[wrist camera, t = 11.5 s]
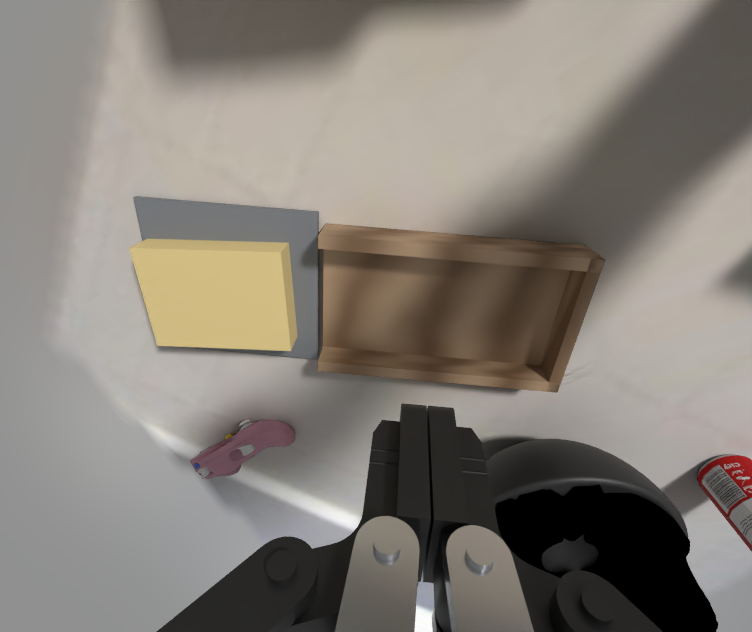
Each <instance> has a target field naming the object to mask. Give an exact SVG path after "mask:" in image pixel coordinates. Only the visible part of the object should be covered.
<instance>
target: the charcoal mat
mask: <svg viewBox="0 0 752 632" xmlns="http://www.w3.org/2000/svg"><path fill="white" fill-rule="evenodd" d="M134 202H135V207H136V211H137V216H138V221H139V226H140V230H141V235H142V240H143V241H144V240H146V239H176V240H210V241H245V242H279V243H289V251H290V261H291V272H292V283H293V294H294V304H295V315H296V326H297V339H296V341H295V343H294V345H293V348H292V350H291V351H277V350H252V349H227V348H202V347H186V348H197V349H209V350H220V351H231V352H242V353H254V354H265V355H276V356H287V357H299V358H310V359H318V266H319V249H318V235H319V212H317V211H305V210H293V209H281V208H269V207H257V206H245V205H233V204H221V203H209V202H197V201H185V200H173V199H161V198H149V197H137V196H136V197H134ZM175 347H177V346H175Z"/></svg>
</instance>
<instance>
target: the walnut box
mask: <svg viewBox="0 0 752 632" xmlns="http://www.w3.org/2000/svg"><path fill="white" fill-rule="evenodd" d="M318 249H324V268H323V347H322V350H321V354H320V357H319V360H318V371H322V372H333V373H344V374H356V375H367V376H378V377H389V378H400V379H412V380H423V381H434V382H445V383H456V384H468V385H479V386H490V387H501V388H512V389H524V390H535V391H546V392H558V389H559V386H560V384H561V381H562V378H563V375H564V373H565V370H566V367H567V364H568V361H569V359H570V356H571V353H572V350H573V348H574V345H575V342H576V339H577V336H578V334H579V331H580V328H581V325H582V323H583V320H584V317H585V314H586V312H587V309H588V306H589V303H590V300H591V298H592V295H593V292H594V289H595V287H596V284H597V281H598V278H599V276H600V273H601V270H602V267H603V264H604V262H605V260H604V259H603V258H602V257H600V256H599V255H598V254H596V253H595V252H594V251H592V250H591V249H590V248H588V247H587V246H586V245H577V244H565V243H553V242H541V241H529V240H517V239H506V238H494V237H482V236H470V235H458V234H446V233H434V232H422V231H410V230H398V229H387V228H375V227H363V226H351V225H339V224H327V223H326V224H325V226H324V227H323V229H322V230H321V232H320V234H319V235H318Z"/></svg>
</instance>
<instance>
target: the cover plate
mask: <svg viewBox="0 0 752 632" xmlns="http://www.w3.org/2000/svg"><path fill="white" fill-rule="evenodd" d="M129 249H130V253H131V256H132V260H133V263H134V267H135V270H136V274H137V277H138V281H139V284H140V287H141V291H142V294H143V298H144V301H145V305H146V308H147V312H148V315H149V319H150V322H151V326H152V329H153V333H154V336H155V339H156V343H157V346H177V347H202V348H227V349H252V350H277V351H291V350H292V348H293V345H294V343H295V341H296V339H297V326H296V315H295V304H294V294H293V283H292V272H291V261H290V251H289V243H279V242H245V241H210V240H176V239H146V240H144V241H142V242H140V243H138V244H136V245H134V246H132V247H130V248H129Z"/></svg>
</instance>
